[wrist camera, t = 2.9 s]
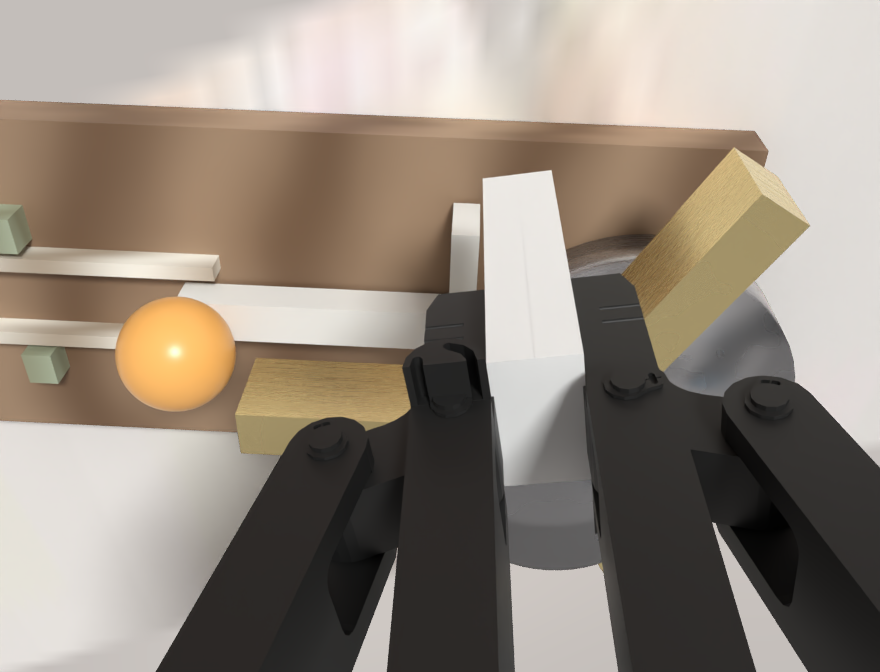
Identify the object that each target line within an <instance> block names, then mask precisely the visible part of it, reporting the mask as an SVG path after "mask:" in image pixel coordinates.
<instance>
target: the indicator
mask: <svg viewBox="0 0 880 672" xmlns="http://www.w3.org/2000/svg"><path fill="white" fill-rule="evenodd" d="M479 241H480V204H470V203H454V206H453V221H452V236H451V262H450V288H449V293H456V292H465V291H475V290H477V273H478V257H479ZM437 295H438V294H432V293H410V292H388V291H366V290H344V289H322V288H300V287H279V286H257V285H235V284H213V283H191V282H185V284H184V285H183V287H182V289H181V291H180V293H179V294H178V296H177V297H164V298H161V299H157V300H154V301H151V302H149V303H147V304H145V305H144V306H142V307H140V308H139V309H138V310H136V311H135V312H134V313H133V314H132V315H131V316H130V317H129V318H128V319H127V321H126V322H125V323H124V325H123V327H122V329H121V331H120V333H119V335H118V338H117V342H116V347H115V361H116V367H117V371H118V374H119V376H120V378H121V380H122V382H123V384H124V385H125V387H126V388H127V389H128V391H129V392H130V393H131V394H132V395H133V396H134V397H135V398H137V399H138V400H139V401H141V402H142V403H144V404H146V405H148V406H150V407H152V408H155V409H158V410H163V411H170V412H180V411H187V410H191V409H195V408H198V407H200V406H202V405H204V404H206V403H208V402H210V401H211V400H212V399H214V398H215V397H216V396H217V395H218V394H219V393H220V392H221V391H222V390H223V389H224V387H225V386H226V385H227V383H228V381H229V379H230V377H231V375H232V373H233V369H234V366H235V359H236V347H235V342H234V341H252V342H273V343H294V344H315V345H337V346H358V347H379V348H400V349H416V348H418V347H420V346H422V345H424V334H425V322H426V310H427V309H428V308H429V306H430V305H431V303H432V302H433V301H434V299H435V298H436V297H437Z"/></svg>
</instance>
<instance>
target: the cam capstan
mask: <svg viewBox="0 0 880 672" xmlns="http://www.w3.org/2000/svg"><path fill="white" fill-rule="evenodd" d="M809 226H810V225H809V223H808V222H807V220H806V219H805V217H804V216H803V214H802V213H801V211H800V210H799V208H798V207H797V205H796V204H795V202H794V201H793V199H792V198H791V196H790V195H789V193H788V192H787V190H786V189H785V187H784V186H783V184H782V183H781V181H780V180H779V178H778V177H777V176H776V175H774V174H773V173H771V172H770V171H768V170H767V169H765V168H764V167H762V166H761V165H760V164H758V163H757V162H755V161H754V160H752V159H751V158H749V157H748V156H746V155H745V154H743V153H742V152H740V151H739V150H737V149H736V148H733V149H732V150H731V151H730V152H729V153H728V154H727V155H726V157H725V158H724V159H723V160H722V161H721V162H720V163H719V164H718V166H717V167H716V168H715V169H714V170H713V171H712V172H711V174H710V175H709V176H708V177H707V178H706V179H705V180H704V181H703V183H702V184H701V185H700V186H699V187H698V188H697V189H696V190H695V192H694V193H693V194H692V195H691V196H690V197H689V198H688V200H687V201H686V202H685V203H684V204H683V205H682V206H681V207H680V209H679V210H678V211H677V212H676V213H675V214H674V215H673V216H672V218H671V219H670V220H669V221H668V222H667V223H666V224H665V225H664V227H663V228H662V229H661V230H660V231H659V232H658V233H657V235H652V234H632V235H621V236H613V237H606V238H601V239H597V240H593V241H589V242H585V243H582V244H580V245H577V246H574V247H571V248H569V249H566V256H567V261H568V267H569V273H570V278H579V277H588V276H597V275H607V274H616V273H620V274H621V275H622V276H624V277H625V278H626V279H627V280H628V281H629V282H630V283H631V284H633V285H634V286H635V289H636V292H637V296H638V299H639V302H640V306H641V309H642V313H643V316H644V320H645V323H646V327H647V330H648V334H649V337H650V340H651V344H652V347H653V351H654V354H655V358H656V361H657V365H658V367H659V369H660V370H661V371H663V372H664V373H665V375H666V376H667V378H668V379H669V381H670V382H671V383H673V384H674V385H676V386H677V387H680V388H682V389H685V390H687V391H690V392H695V393H700V394H706V395H713V396H721V397H724V392H725V391H726V390H727V389H728V388H729V387H730V386H731V385H732V384H733V383H735V382H737V381H739V380H742V379H744V378H746V377H754V376H763V375H765V376H773V377H781V378H784V379H787V380H789V381H792V382H795V372H794V361H793V357H792V353H791V350H790V346H789V344H788V342H787V339H786V337H785V335H784V333H783V331H782V329H781V327H780V325H779V323H778V321H777V319H776V317H775V315H774V313H773V311H772V309H771V307H770V305H769V303H768V301H767V299H766V297H765V295H764V293H763V292H762V291H761V289H760V288H759V286H758V285H757V284H756V282H755V280H756V279H757V278H758V277H759V276H760V275H761V274H762V273H763V272H764V271H765V270H766V269H767V268H768V267H769V266H770V265H771V264H772V263H773V262H774V261H775V260H776V259H777V258H778V257H779V256H780V255H781V254H782V253H783V252H784V251H785V250H786V249H787V248H788V247H789V246H790V245H791V244H792V243H793V242H794V241H795V240H796V239H797V238H798V237H799V236H800V235H801V234H802V233H803V232H804V231H805V230H806V229H807V228H808V227H809ZM402 366H403V365H397V364H376V363H355V362H334V361H313V360H292V359H271V358H256V359H255V362H254V365H253V367H252V370H251V373H250V375H249V378H248V381H247V383H246V386H245V389H244V392H243V394H242V397H241V400H240V402H239V405H238V408H237V411H236V413H235V418H236V425H237V431H238V437H239V444H240V450H241V453H247V454H267V455H282V454H283V452H284V450H285V449H286V447H287V445H288V443H289V442H290V440H291V439H292V438H293V437H294V436H295V435H296V433H297V432H298V431H299V430H301V429H302V428H304V427H305V426H307V425H309V424H310V423H312V422H315V421H318V420H321V419H324V418H329V417H345V418H349V419H354V420H356V421H357V422H358V423H360V424H361V425H362V426H364V428H365V430H366V431H367V430H370V429H373V428H376V427H379V426H382V425H385V424H387V423H390V422H392V421H394V420H396V419H398V418H399V417H401V416H403V415H404V414H406V413H407V412H408V411H409V410H410V409H411V406H410V401H409V397H408V392H407V388H406V383H405V379H404V374H403V370H402ZM504 491H505V498H506V505H507V515H508V536H509V558H510V563H512V564H515V565H519V566H522V567H528V568H533V569H542V570H569V569H577V568H584V567H588V566H592V565H596V564H598V565H599V567H600V568H601V570H602V571H603V566H602V559H601V553H600V546H599V539H598V534H595V527H594V510H593V494H592V479H590V480H577V481H565V482H552V483H540V484H527V485H515V486H504ZM603 573H604V572H603Z"/></svg>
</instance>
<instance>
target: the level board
mask: <svg viewBox="0 0 880 672" xmlns="http://www.w3.org/2000/svg"><path fill="white" fill-rule="evenodd" d="M733 148H736V149H737V150H739V151H740V152H742V153H743V154H745V155H746V156H748V157H749V158H751V159H752V160H754V161H755V162H757V163H758V164H760V165H761V166H762V167H764V166H765V162H766V159H767V155H768V150H767V148H766V147H765V145H764V144H763V142H762V141H761V139H760V138H759V137H758V135H757V134H756V132H755V131H738V130H713V129H689V128H665V127H641V126H617V125H593V124H569V123H545V122H520V121H496V120H472V119H448V118H424V117H400V116H376V115H352V114H327V113H303V112H279V111H255V110H231V109H207V108H183V107H159V106H135V105H110V104H86V103H62V102H37V101H14V100H0V420H1V421H21V422H41V423H62V424H82V425H102V426H122V427H143V428H163V429H183V430H203V431H223V432H238V431H237V425H236V418H235V413H236V411H237V408H238V405H239V402H240V400H241V397H242V394H243V392H244V389H245V386H246V383H247V381H248V378H249V375H250V373H251V370H252V367H253V365H254V362H255V359H256V358H271V359H292V360H313V361H334V362H355V363H376V364H397V365H403V364H404V361H405V359H406V357H407V356H408V355H409V354H410V353H411V352H412V351H413V350H415V349H400V348H379V347H358V346H337V345H315V344H294V343H273V342H252V341H234V342H235V347H236V359H235V366H234V369H233V373H232V375H231V377H230V379H229V381H228V383H227V385H226V386H225V387H224V389H223V390H222V391H221V392H220V393H219V394H218V395H217V396H216V397H215V398H214V399H212V400H211V401H210V402H208V403H206V404H204V405H202V406H200V407H198V408H195V409H191V410H187V411H180V412H170V411H163V410H158V409H155V408H152V407H150V406H148V405H146V404H144V403H142V402H141V401H139V400H138V399H137V398H135V397H134V396H133V395H132V394H131V393H130V392H129V391H128V389H127V388H126V387H125V385H124V384H123V382H122V380H121V378H120V376H119V374H118V371H117V367H116V361H115V347H116V342H117V338H118V335H119V333H120V331H121V329H122V327H123V325H124V323H125V322H126V321H127V319H128V318H129V317H130V316H131V315H132V314H133V313H134V312H135V311H136V310H138V309H139V308H140V307H142V306H144V305H145V304H147V303H149V302H151V301H154V300H157V299H161V298H164V297H177V296H178V294H179V293H180V291H181V289H182V287H183V285H184V284H185V282H191V283H213V284H235V285H257V286H279V287H300V288H322V289H344V290H366V291H388V292H410V293H432V294H447V293H449V288H450V262H451V236H452V221H453V206H454V203H470V204H480V241H479V257H478V273H477V290H484V289H485V275H484V222H483V178H492V177H500V176H508V175H516V174H524V173H532V172H540V171H549V170H552V176H553V182H554V187H555V193H556V199H557V204H558V210H559V216H560V221H561V227H562V233H563V239H564V244H565V250H566V249H569V248H571V247H574V246H577V245H580V244H582V243H585V242H589V241H593V240H597V239H601V238H606V237H613V236H621V235H632V234H652V235H657V233H658V232H659V231H660V230H661V229H662V228H663V227H664V225H665V224H666V223H667V222H668V221H669V220H670V219H671V218H672V216H673V215H674V214H675V213H676V212H677V211H678V210H679V209H680V207H681V206H682V205H683V204H684V203H685V202H686V201H687V200H688V198H689V197H690V196H691V195H692V194H693V193H694V192H695V190H696V189H697V188H698V187H699V186H700V185H701V184H702V183H703V181H704V180H705V179H706V178H707V177H708V176H709V175H710V174H711V172H712V171H713V170H714V169H715V168H716V167H717V166H718V164H719V163H720V162H721V161H722V160H723V159H724V158H725V157H726V155H727V154H728V153H729V152H730V151H731V150H732V149H733Z"/></svg>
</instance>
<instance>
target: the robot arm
mask: <svg viewBox="0 0 880 672" xmlns="http://www.w3.org/2000/svg"><path fill="white" fill-rule="evenodd" d="M483 222H484V275H485V289H484V290H475V291H465V292H456V293H447V294H438V295H437V297H436V298H435V299H434V301H433V302H432V303H431V305H430V306H429V308H428V309H427V310H426V322H425V334H424V345H422V346H420V347H418V348H416V349H415V350H413V351H412V352H411V353H410V354H409V355H408V356H407V357H406V359H405V361H404V364H403V366H402V370H403V374H404V379H405V383H406V388H407V392H408V397H409V401H410V406H411V409H410V410H409V411H408V412H407V413H406V414H404V415H403V416H401V417H399V418H398V419H396V420H394V421H392V422H390V423H387V424H385V425H382V426H379V427H376V428H373V429H370V430H367V431H366V430H365V428H364V426H362V425H361V424H360V423H358V422H357V421H356V420H354V419H349V418H345V417H329V418H324V419H321V420H318V421H315V422H312V423H310V424H309V425H307V426H305V427H304V428H302V429H301V430H299V431H298V432H297V433H296V435H295V436H294V437H293V438H292V439H291V440H290V442H289V443H288V445H287V447H286V449H285V450H284V452H283V454H282V455H281V457H280V459H279V461H278V462H277V464H276V466H275V467H274V469H273V471H272V473H271V474H270V476H269V478H268V480H267V481H266V483H265V485H264V486H263V488H262V490H261V492H260V493H259V495H258V497H257V498H256V500H255V502H254V504H253V505H252V507H251V509H250V510H249V512H248V514H247V516H246V517H245V519H244V521H243V523H242V524H241V526H240V528H239V529H238V531H237V533H236V535H235V536H234V538H233V540H232V541H231V543H230V545H229V547H228V548H227V550H226V552H225V553H224V555H223V557H222V559H221V560H220V562H219V564H218V566H217V567H216V569H215V571H214V572H213V574H212V576H211V578H210V579H209V581H208V583H207V584H206V586H205V588H204V590H203V591H202V593H201V595H200V597H199V598H198V600H197V602H196V603H195V605H194V607H193V609H192V610H191V612H190V614H189V615H188V617H187V619H186V621H185V622H184V624H183V626H182V627H181V629H180V631H179V633H178V635H177V636H176V638H175V640H174V641H173V643H172V645H171V647H170V648H169V650H168V652H167V653H166V655H165V657H164V658H163V660H162V662H161V664H160V665H159V667H158V669H157V670H156V672H352V670H353V667H354V665H355V662H356V659H357V657H358V654H359V652H360V649H361V646H362V644H363V641H364V639H365V636H366V633H367V631H368V628H369V625H370V623H371V620H372V618H373V615H374V612H375V610H376V607H377V605H378V602H379V599H380V597H381V594H382V592H383V589H384V586H385V584H386V581H387V579H388V576H389V573H390V571H391V568H392V565H393V563H394V560H395V558H396V551H397V548H398V554H397V565H396V576H395V587H394V599H393V610H392V621H391V632H390V644H389V654H388V666H387V672H515V668H514V645H513V625H512V624H513V623H512V601H511V580H510V558H509V536H508V515H507V505H506V498H505V491H504V486H515V485H527V484H540V483H552V482H565V481H577V480H590V479H592V494H593V510H594V527H595V534H598V539H599V546H600V553H601V559H602V566H603V572H604V579H605V586H606V592H607V599H608V606H609V612H610V619H611V626H612V632H613V639H614V645H615V652H616V658H617V666H618V672H756V670H755V666H754V663H753V659H752V656H751V653H750V650H749V646H748V642H747V639H746V636H745V632H744V629H743V626H742V622H741V619H740V616H739V612H738V609H737V605H736V602H735V599H734V595H733V592H732V589H731V585H730V582H729V578H728V575H727V572H726V568H725V565H724V562H723V558H722V555H721V551H720V548H719V545H718V541H717V538H716V535H715V531H714V528H713V524H712V522H714V523H716V525H717V528H718V531H719V533H720V534H721V536H722V538H723V539H724V541H725V542H726V544H727V545H728V547H729V549H730V550H731V552H732V553H733V555H734V556H735V558H736V559H737V561H738V563H739V564H740V566H741V567H742V569H743V570H744V572H745V574H746V575H747V577H748V578H749V580H750V581H751V583H752V585H753V586H754V588H755V589H756V591H757V592H758V594H759V596H760V597H761V599H762V600H763V602H764V603H765V605H766V607H767V608H768V610H769V611H770V613H771V614H772V616H773V617H774V619H775V621H776V622H777V624H778V625H779V627H780V628H781V630H782V631H783V633H784V635H785V636H786V638H787V639H788V641H789V643H790V644H791V646H792V647H793V649H794V650H795V652H796V653H797V655H798V657H799V658H800V660H801V661H802V663H803V664H804V666H805V667H806V669H807V671H808V672H880V467H879V466H878V465H877V464H876V463H875V462H874V461H873V460H872V459H871V458H870V457H869V456H868V454H867V453H866V452H865V451H864V450H863V449H862V448H861V447H860V446H859V445H858V444H857V443H856V442H855V441H854V439H853V438H852V437H851V436H850V435H849V434H848V433H847V432H846V431H845V430H844V429H843V428H842V427H841V425H840V424H839V423H838V422H837V421H836V420H835V419H834V418H833V417H832V416H831V415H830V414H829V413H828V411H827V410H826V409H825V408H824V407H823V406H822V405H821V404H820V403H819V402H818V401H817V400H816V399H815V398H814V396H813V395H812V394H811V393H810V392H808V391H807V390H806V389H804V388H803V387H802V386H800V385H799V384H798V383H795V382H792V381H789V380H787V379H784V378H781V377H773V376H765V375H763V376H754V377H746V378H744V379H742V380H739V381H737V382H735V383H733V384H732V385H731V386H730V387H729V388H728V389H727V390H726V391H725V392H724V397H721V396H713V395H706V394H700V393H695V392H690V391H687V390H685V389H682V388H680V387H677V386H676V385H674V384H673V383H671V382H670V381H669V379H668V378H667V376H666V375H665V373H664V372H663V371H661V370H660V369H659V367H658V365H657V361H656V358H655V354H654V351H653V347H652V344H651V340H650V337H649V334H648V330H647V327H646V323H645V320H644V316H643V313H642V309H641V306H640V302H639V299H638V296H637V292H636V289H635V286H634V285H633V284H631V283H630V282H629V281H628V280H627V279H626V278H625V277H624V276H622V275H621V274H620V273H616V274H607V275H597V276H588V277H579V278H570V273H569V267H568V261H567V256H566V250H565V244H564V239H563V233H562V227H561V221H560V216H559V210H558V204H557V199H556V193H555V187H554V182H553V176H552V170H549V171H540V172H532V173H524V174H516V175H508V176H500V177H492V178H483Z"/></svg>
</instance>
